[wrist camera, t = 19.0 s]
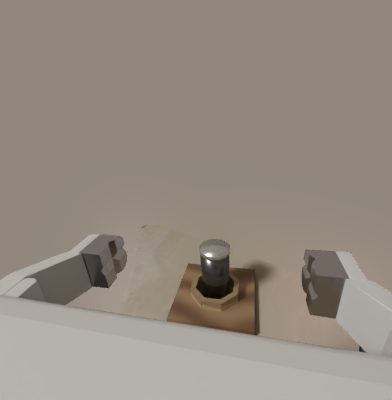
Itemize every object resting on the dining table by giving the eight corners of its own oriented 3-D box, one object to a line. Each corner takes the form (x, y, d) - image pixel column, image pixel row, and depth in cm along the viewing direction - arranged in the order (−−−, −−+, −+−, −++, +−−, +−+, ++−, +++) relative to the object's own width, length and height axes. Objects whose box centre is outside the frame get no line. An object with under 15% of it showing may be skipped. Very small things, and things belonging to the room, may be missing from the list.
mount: (188, 267, 58) (187, 256, 57) (254, 273, 54) (254, 262, 53) (167, 322, 44) (165, 310, 43) (254, 336, 40) (255, 323, 39)
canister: (217, 277, 52) (216, 236, 48) (235, 293, 48) (236, 248, 44) (196, 289, 49) (193, 246, 45) (213, 307, 45) (212, 260, 41)
